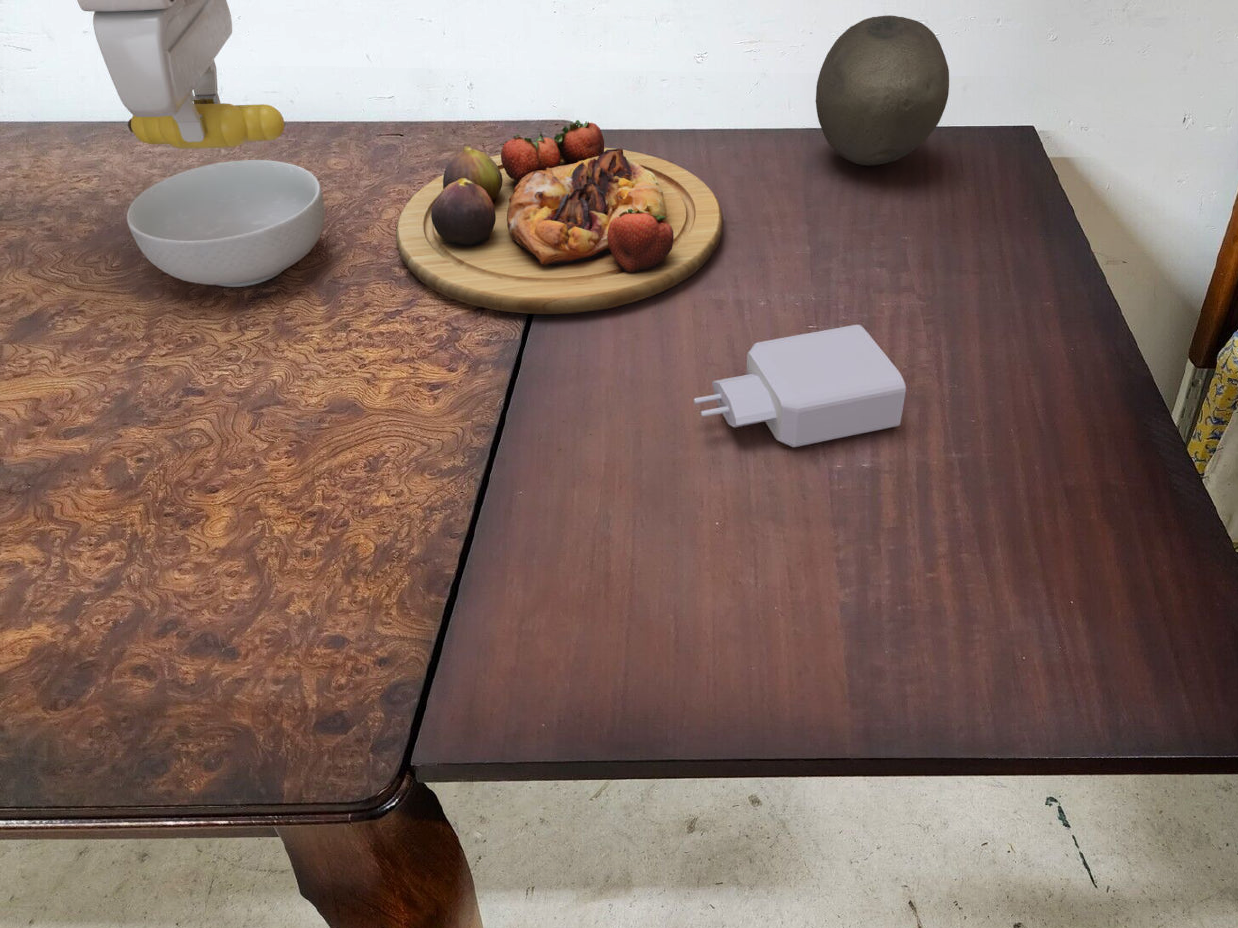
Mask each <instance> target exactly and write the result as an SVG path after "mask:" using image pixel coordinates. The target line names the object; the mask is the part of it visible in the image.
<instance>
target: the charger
mask: <svg viewBox="0 0 1238 928" xmlns="http://www.w3.org/2000/svg"><path fill="white" fill-rule="evenodd" d="M711 384H712V390H713V394H711V395H705V396H698V397H694V398H693V403H694V404H695V405H699V404H705V403H710V402H715V401H716V403H717V407H716V408H715V407H714V408H711V409H706V410H701V412H700V416H701V417H703V418H705V417H706V418H707V417H710V416H716V415H720V414H722V415H723V417H724V419H725V420H726V423H727V424H728V426H731V427H733V428H739V427H743V426H750V425H754V424H759V423H763V422H764V423H765V424H766V425H767V427H768V428H769V430H770V432H771V433H772V436H774V438H775V439H776V441H778V442H780V443H782V444H785V445H786V446H787V445H788V446H789V447H791V448H797V447H798V448H799V447H802V446H807V445H812V444H817V443H821V442H826V441H832V440H836V439H842V438H846V437H850V436H851V437H852V436H856V435H861V434H865V433H871V432H876V431H881V430H885V429H890V428H895V427H900V425H901V423H902V416H903V410H904V404H905V398H906V394H907V393H906V392H907V386H906V382H905V380H904V378H903V376H902V374H901V372H900V371H899V370H898V368H897V367H896V366H895V364H894V363H893V362H892V361H891V360H890V358H889V357H888V356H887V355H886V353H885V352H884V351H883V350H882V349H881V348H880V346H879V345H878V344H877V342H876V341H875V340H874V339H873V338H872V336H871V335H870V334H869V333H868V331H867V330H866V329H865V328H864V327H863V326H862V325H861V324H852V325H847V326H846V325H845V326H840V327H836V328H829V329H824V330H819V331H813V332H807V333H801V334H797V335H791V336H786V337H780V338H774V339H769V340H763V341H757V342H755V343H754V344H753V345H752V347H751V348H750V349H749V351H748V352H747V354H746V374H744V375H739V376H733V377H728V378H723V379H717V380H713V381H712V382H711Z"/></svg>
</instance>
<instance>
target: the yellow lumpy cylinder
mask: <svg viewBox="0 0 1238 928" xmlns="http://www.w3.org/2000/svg"><path fill="white" fill-rule="evenodd" d="M220 103H221V104H194V105H195V107H196V109H197V111H198V114H203V117H204V120H205V125H206V127H207V130H208V131H207V134H206V136H205V137H204V139H203V140H202V141H201V142H186V141H184V139H183V138H182V136H181V133H180V130H179V127H178V124H177V122H176V121H175V120H174V118H173V117H172V116H162V117H136V116H134V115H133V114H132V117H131V118H130V119H129V120H128V122H127V128H128V130H129V131H130V132H131V133H132V134H133V135H134V136H135V137H136V138H137V139H138V140H139V141H141V142H142V143H144V144H148V145H170V146H171V147H174V148H176V149H179V150H191V149H192V150H193V149H198V150H199V149H224V148H225V149H226V148H227V149H228V148H237V147H239V146H241V145H243V144H244V143H245V142H270V141H274V140H275V141H276V140H277V139H278V138H280V137H281V136H282V134H283V133H284V130H285V120H284V117H283V115H282V112H280V111H279V110H278V109H277V108H276V107H274V106H272V105H269V104H264V103H263V104H232V103H225V102H224V103H223V102H220Z"/></svg>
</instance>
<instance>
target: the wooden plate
mask: <svg viewBox="0 0 1238 928" xmlns="http://www.w3.org/2000/svg"><path fill="white" fill-rule="evenodd" d="M539 133H540V134H539V135H538V136H537V137H536V138H535V139H534V140H533V141H534V142H533V141H532V138H531V137H528V136H524V138H523V137H521V136H520V134H519V133H517V134H515V135H514V136H513V137H512V139H509V140H506V141H505V142H504V143H500V144H499V146H502V148H501V153H500V154H496V155H491V156H490V155H488V154H487V153H485V152H482V151H481V150H477V149H474V148H473V147H471V146H469V145H467V146H465V147H464V149H462V150H461V151H459V152H458V153H456V155H455V156H453V158H452V159H451V160H450V161H449V162H448V164H447V165H446V166H445V170H444V173H443V174H441V175H440V176H438V177H436V178H435V179H433V180H432V181H430V182H428V183H427V184H425V185H424V186H423V187H421V188H420V189H419V190H418V191H417V192H416V193H415V194H414V195H413V196H412V197H411V198H410V199H409V200H408V202H407V203H406V205H404V207H403V209H402V211H401V213H400V214H399V217H398V220H397V222H396V227H395V228H396V229H395V240H396V246H397V249H398V254H399V256H400V258H401V260H402V261H403V263H404V265H405V266H406V268H407V269H408V270H409V271H410V272H411V273H412V274H413V275H414V276H415V277H416V278H417V280H419V281H420V282H422V283H424V284H425V285H426V286H427V287H429V288H430V289H432V290H434V291H435V292H438V293H439V294H441V295H443V296H445V297H448V298H450V299H452V300H456V301H458V302H461V303H465V304H468V305H472V306H476V307H481V308H483V309H484V308H485V309H489V310H495V311H499V312H509V313H518V314H529V315H532V314H533V315H562V314H576V313H585V312H593V311H601V310H606V309H612V308H616V307H620V306H623V305H627V304H631V303H635V302H638V301H641V300H644V299H647V298H651V297H653V296H654V295H657V294H660V293H662V292H664V291H666V290H669V289H671V288H673V287H674V286H676V285H678V284H679V283H682V282H683V281H685V280H687V279H688V278H689V277H691V276H692V275H693V274H695V273H696V272H697V271H698V270H699V269H700V268H702V267H703V265H704V264H705V263H706V262H707V261H708V260H709V259H710V258H711V257H712V256H713V254H714V252H715V250H717V247H718V246H719V244H720V241H721V239H722V235H723V228H724V218H723V210H722V207H721V204H720V202H719V200H718V198H717V196H716V195H715V194H714V192H713V191H712V190H711V188H710V187H709V186H708V185H707V184H705V182H704V181H703V180H702V179H700V178H699V177H697V176H696V175H694V174H692V172H689V171H688V170H687V169H685V168H683V167H681V166H679V165H677V164H675V163H672V162H671V161H668V160H665V159H662V158H659V157H655V156H652V155H649V154H645V153H642V152H637V151H631V150H626V149H623V148H614V147H605V139H604V135H603V132H602V130H601V128H600V127H599V126H598V125H597V124H596V123H594V122H589V121H587V120H586V121H585V122H584V123H581V121H580V120H579V119H577V120H575V122H574V123H569V127H568V126H567V125H565V126H563V127H562V129H561V133H556V134H555V136H554V137H553V139H552V138H551V137H544V136H543V133H542V132H541V131H539Z"/></svg>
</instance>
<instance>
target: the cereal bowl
mask: <svg viewBox="0 0 1238 928" xmlns="http://www.w3.org/2000/svg"><path fill="white" fill-rule="evenodd" d="M325 215H326V209H325V201H324V195H323V190H322V187H321V183H320V182H319V180H318V178H317V177H316V176H315V174H313V173H312V172H311V171H309V170H307V169H306V168H304V167H301V166H298V165H296V164H293V163H289V162H283V161H280V160H279V161H277V160H270V159H244V160H243V159H242V160H241V159H240V160H230V161H223V162H217V163H216V162H215V163H211V164H206V165H202V166H198V167H194V168H190V169H188V170H184V171H182V172H178V173H176V174H173V175H171V176H168V177H165V178H164V179H162V180H159V181H158V182H156V183H154V184H152V185H150V186H149V187H148V188H146V189H145V190H143V191H142V192H141V193H140V194H139V195H138V196H136V197H135V198H134V199H133V200H132V202H131V203H130V205H129V207H128V209H127V213H126V222H127V225H128V229H129V231H130V232H131V235H132V237H133V239H134V241H135V242H136V245H137V247H138V248H139V250H140V252H142V255H144V256H145V257H146V259H147V260H148V261H149V262H150V263H151V264H152V265H154V266H155V267H156V268H158V269H159V270H161V271H162V272H163V273H165V274H168V275H169V276H171V277H174V278H175V279H179V280H181V281H185V282H188V283H194V284H201V285H210V286H219V287H225V288H226V287H227V288H240V287H241V288H242V287H249V286H253V285H257V284H261V283H264V282H267V281H269V280H272V279H273V278H275V277H277V276H278V275H280V274H281V273H283V271H285V270H286V269H288V268H290V267H292V266H294V265H295V264H296V263H298V262H300V261H301V260H302V259H303V258H304V257H306V255H308V254H309V253H310V252H311V251H312V249H313V248H315V246H316V244H317V243H318V241H319V240H320V238H321V235H322V233H323V229H324V226H325V221H326V216H325Z"/></svg>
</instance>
